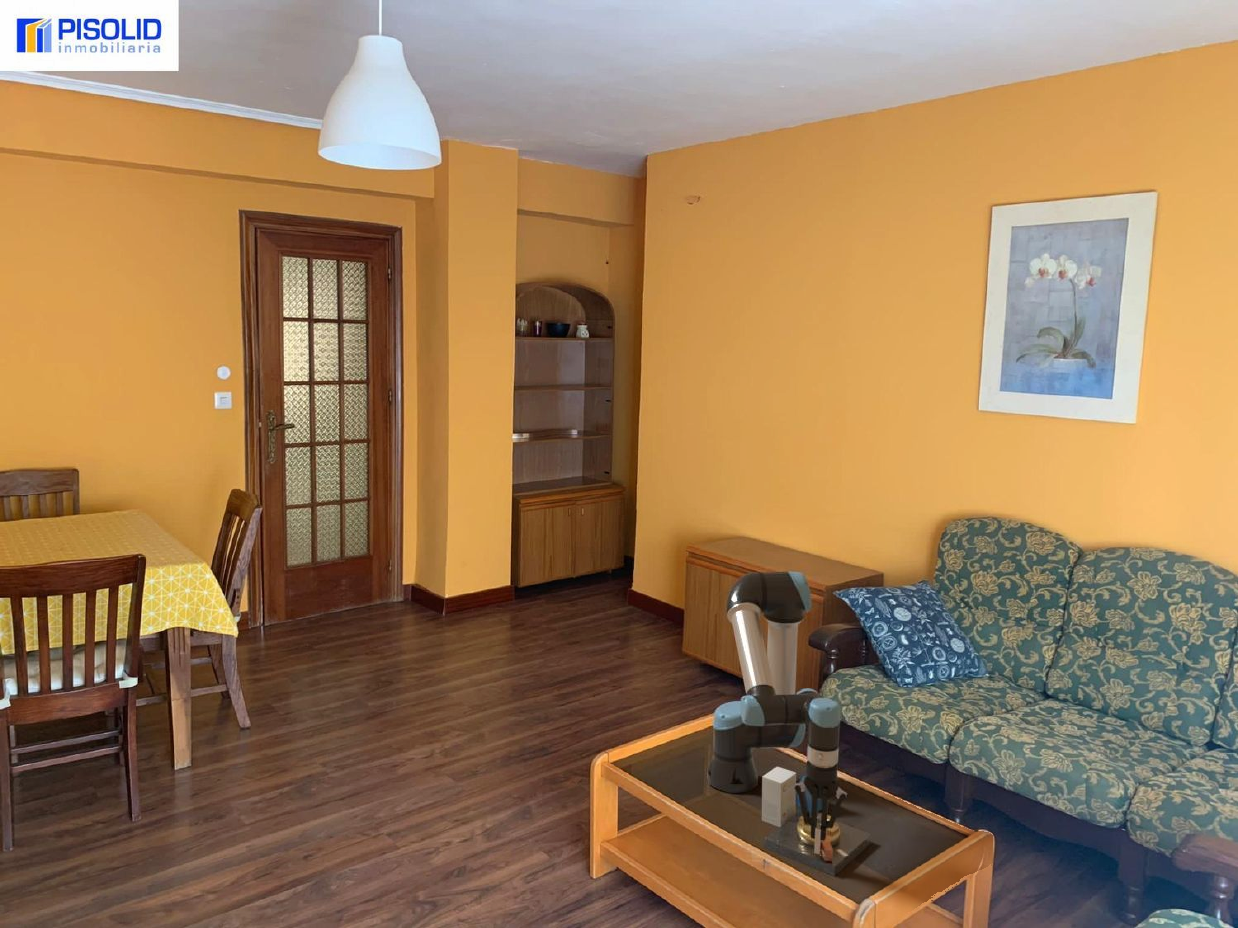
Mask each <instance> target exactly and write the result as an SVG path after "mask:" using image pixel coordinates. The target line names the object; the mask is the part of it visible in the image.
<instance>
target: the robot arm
mask: <svg viewBox="0 0 1238 928" xmlns="http://www.w3.org/2000/svg"><path fill="white" fill-rule="evenodd" d="M811 608H812V595H811V589H810V586H809V583H808V579H807V577H806V576H805V575H804V573H802V572H799V571H788V570H787V571H767V572H765V571H764V572H761V571H760V572H758V571H757V572H756V571H754V572H749V573H748V572H747V573H746V574H743V575H742V576H741V577H739V578H738V579H737V580H736V581H735V582H734V583H733V584H732V585H731V588H730V589H729V591H728V594H727V597H726V602H725V612H726V618H727V620H728V621H729V622H730V623H731V624H732V630H733V633H734V639H735V643H736V644H735V645H736V649H737V654H738V659H739V664H740V671H741V674H742V679H743V680H742V681H743V684H744V689H745V695H743V696H742V697H741V698H740V700H736V701H729V702H725V703H723V704H721V705H720V706H718V707H717V708H716V709H715V711H714V714H713V721H712V727H713V741H712V742H713V745H712V749H713V750H712V751H713V752H712V754H713V755H712V757H711V760H710V763H709V766H708V769H707V772H706V780H707V779H708V781H709V783H710V784H711V785H713V786H714V787H715V788H717V789H719V790H718V791H720V790H723V791H722V792H724V791H725V793H731V794H732V793H733V794H735V793H737V794H739V793H740V794H741V793H746V792H747V793H748V792H749V791H751V790H752V791H753V789H755V788H757V786H758V783H759V774H758V772H757V768H756V764H755V761H754V757H753V750H755V749H757V750H758V749H780V748H781V749H782V748H783V749H788V748H796V747H798V746H799V745H801V744H802V743H803V740H804V738H805V733H806V728H807V729H808V731H807V750H806V759H807V760H806V769H805V770H806V772H805V775H806V777H805V779H804V781H803V782H801V783H800V781H796V786H795V790H796V795H797V794H798V795H799V800H800V805H801V807H800V809H801V811H802V815H803V820H804V823H806V824H809V825H810V826H811V838H813V839H815V845H814V853H817V854H819V853H820V850H821V840H823V841H824V840H825V838H826V829H827V828H833V826H834V823H835V821H836V820H837V817H838V814H839V811H840V808H841V805H842V803H843V802H844V801H845V800H846V798H847V795H848V792H847V790H843V789H842V788H840V787H839V782H838V767H839V765H838V762H839V749H840V747H839V746H840V728H841V721H842V720H841V719H842V716H841V705H840V703H838V702H837V701H836V700H833V699H832V698H828V697H823V696H822V694H820V693H819V692H818V691H816V690H815V689H813V688H810V687H809V688H807V687H806V688H802V689H800V690H799V691H797V692H796V682H797V681H796V680H797V679H796V677H797V660H798V659H797V658H798V657H797V654H798V634H799V632H798V630H799V625H800V623H802V622H803V621H804V618H805V613H808V612H810V611H811V610H812V609H811ZM762 614H763V618H764V620H766V622H767V623H768V625H767V648H766V644H765V639H764V636H763V630H762V627H761V622H760V617H761V616H762ZM709 783H708V784H709ZM805 786H806V788H807V790H808V791H809V793H810V794H811V795H812V812H811V811H810V812H811V817H810V814H809V809H808V804H807V799H806V794H805ZM715 788H714V789H715ZM717 789H716V790H717ZM835 793H836V796H835V797H836V798H837V799H836V802H835V803H834V807H833V810H832V813H831V815H830V816H831V818H830V820H829V821H827V816H828V812H829V801H830V800H829V799H831V797H832V796H833V795H835ZM818 798H821V799H822V809H821V824H818V823H817V821H818V820H817V816H818V813H819V811H818Z"/></svg>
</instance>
